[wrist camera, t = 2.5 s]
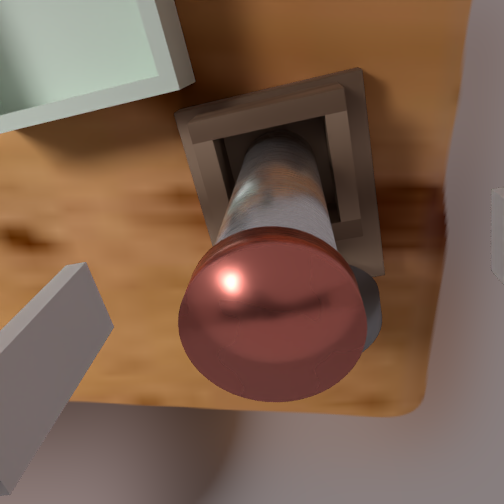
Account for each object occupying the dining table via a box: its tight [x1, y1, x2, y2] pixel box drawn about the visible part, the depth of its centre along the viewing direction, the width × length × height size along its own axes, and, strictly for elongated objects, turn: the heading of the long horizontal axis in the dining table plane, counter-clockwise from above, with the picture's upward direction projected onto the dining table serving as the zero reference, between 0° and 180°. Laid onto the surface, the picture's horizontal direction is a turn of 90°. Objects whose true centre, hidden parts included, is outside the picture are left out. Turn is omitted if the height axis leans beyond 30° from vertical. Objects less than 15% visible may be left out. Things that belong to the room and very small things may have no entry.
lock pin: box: [178, 130, 367, 402], centre depth 17 cm, size 5×5×15 cm
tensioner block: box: [174, 67, 385, 352], centre depth 22 cm, size 13×10×10 cm
